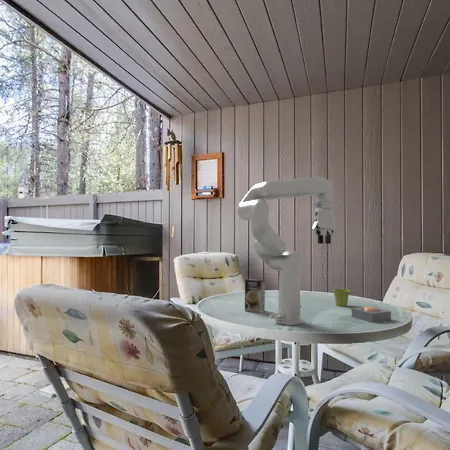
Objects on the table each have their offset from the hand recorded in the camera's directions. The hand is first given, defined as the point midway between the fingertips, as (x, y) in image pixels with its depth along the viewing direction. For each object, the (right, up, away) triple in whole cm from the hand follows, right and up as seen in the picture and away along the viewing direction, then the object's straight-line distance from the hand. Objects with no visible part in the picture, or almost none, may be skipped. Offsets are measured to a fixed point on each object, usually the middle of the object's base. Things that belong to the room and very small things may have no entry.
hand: (324, 243), depth 154 cm
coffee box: (-33, -36, +10) cm, 50 cm away
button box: (+21, -35, -5) cm, 41 cm away
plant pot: (+18, -37, +26) cm, 49 cm away
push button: (+21, -33, -5) cm, 40 cm away
